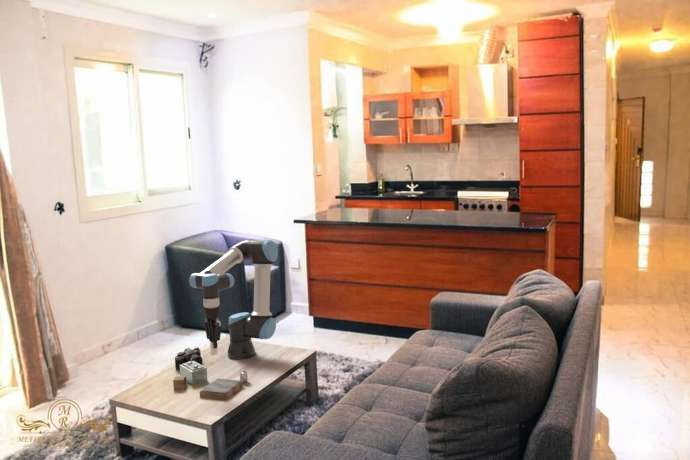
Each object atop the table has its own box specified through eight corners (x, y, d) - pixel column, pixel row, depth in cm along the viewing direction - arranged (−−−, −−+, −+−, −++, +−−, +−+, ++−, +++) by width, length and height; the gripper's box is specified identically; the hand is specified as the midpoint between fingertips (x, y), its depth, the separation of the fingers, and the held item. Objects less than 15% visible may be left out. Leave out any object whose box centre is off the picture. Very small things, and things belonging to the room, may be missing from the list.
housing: (195, 373, 299) (193, 358, 298) (207, 381, 288) (206, 365, 287) (180, 378, 294) (179, 362, 293) (192, 385, 283) (191, 369, 282)
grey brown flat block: (217, 383, 283) (217, 378, 283) (242, 386, 279) (242, 380, 279) (199, 396, 268) (199, 390, 268) (226, 399, 264) (225, 393, 264)
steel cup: (242, 380, 287) (241, 370, 286) (249, 381, 285) (248, 371, 285) (239, 383, 283) (238, 373, 283) (245, 383, 282) (245, 374, 281)
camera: (186, 374, 299) (184, 355, 298) (173, 370, 305) (172, 352, 304) (209, 364, 311) (208, 346, 310) (197, 361, 317) (196, 343, 316)
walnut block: (176, 385, 283) (175, 376, 283) (186, 385, 283) (185, 375, 283) (173, 389, 278) (173, 380, 278) (184, 389, 278) (183, 379, 278)
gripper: (197, 305, 275) (200, 353, 278) (212, 309, 266) (215, 359, 269) (210, 302, 281) (213, 349, 283) (226, 306, 272) (228, 354, 274)
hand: (214, 354), depth 276 cm, fingers closed
